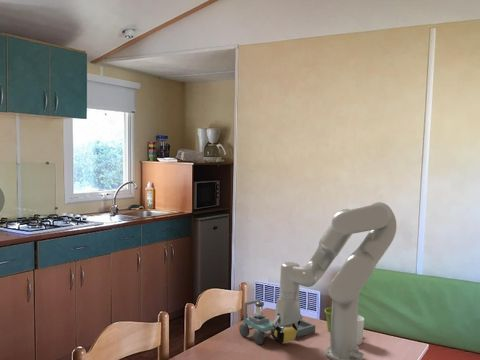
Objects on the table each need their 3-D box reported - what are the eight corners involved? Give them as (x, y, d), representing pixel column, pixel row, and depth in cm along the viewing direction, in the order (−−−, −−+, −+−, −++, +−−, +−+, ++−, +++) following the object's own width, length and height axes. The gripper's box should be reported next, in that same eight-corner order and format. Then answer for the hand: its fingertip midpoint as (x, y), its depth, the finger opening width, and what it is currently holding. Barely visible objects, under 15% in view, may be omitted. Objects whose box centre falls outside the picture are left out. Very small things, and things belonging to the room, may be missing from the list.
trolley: (281, 340, 180) (282, 307, 179) (261, 346, 174) (262, 311, 173) (258, 329, 191) (259, 298, 190) (239, 334, 185) (240, 302, 184)
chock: (294, 339, 177) (297, 331, 176) (282, 343, 173) (285, 334, 172) (285, 331, 182) (288, 322, 180) (273, 334, 177) (276, 326, 176)
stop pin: (265, 321, 182) (265, 303, 182) (258, 323, 180) (259, 304, 180) (259, 318, 185) (260, 300, 185) (252, 320, 183) (253, 302, 183)
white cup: (339, 339, 183) (340, 315, 183) (354, 337, 187) (355, 313, 186) (351, 347, 176) (352, 322, 176) (367, 344, 179) (368, 319, 179)
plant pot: (319, 330, 193) (320, 310, 192) (331, 325, 199) (332, 305, 199) (338, 337, 186) (339, 316, 186) (350, 331, 193) (351, 311, 192)
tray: (315, 332, 190) (315, 325, 190) (293, 338, 182) (293, 331, 182) (293, 322, 200) (293, 316, 200) (271, 328, 192) (271, 321, 192)
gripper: (297, 289, 184) (295, 332, 185) (266, 295, 173) (263, 341, 174) (311, 293, 178) (309, 338, 179) (279, 300, 167) (277, 348, 168)
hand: (286, 339), depth 176 cm, fingers closed on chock, 6 cm apart
